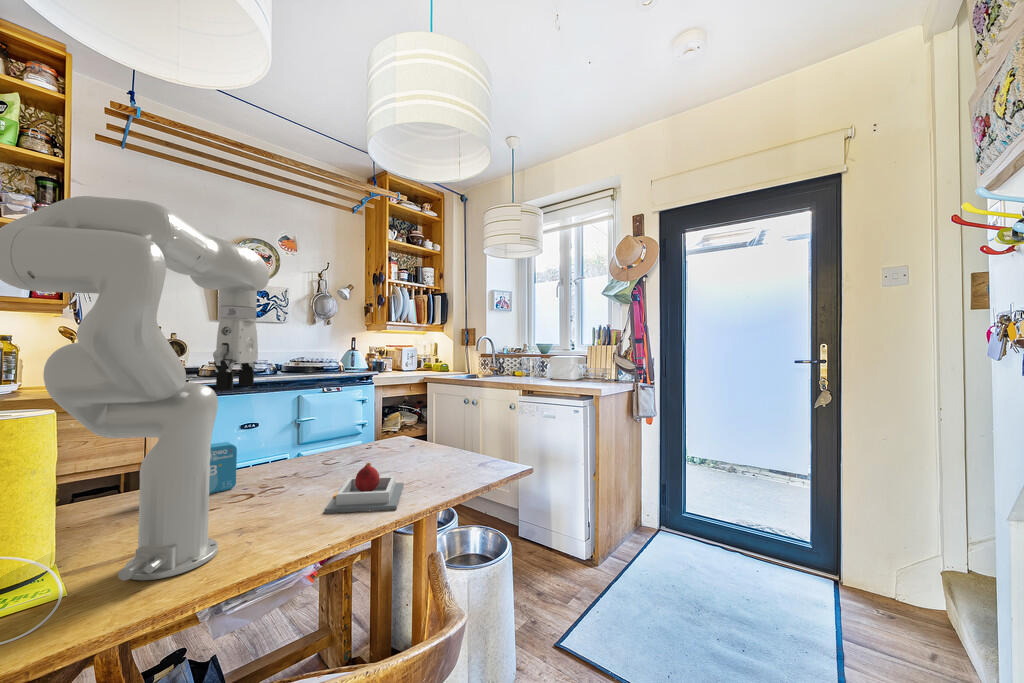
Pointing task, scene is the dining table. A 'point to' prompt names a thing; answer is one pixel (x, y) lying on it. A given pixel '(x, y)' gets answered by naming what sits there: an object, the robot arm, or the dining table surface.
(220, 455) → the data package
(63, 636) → the dining table surface
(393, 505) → the tray
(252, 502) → the dining table surface
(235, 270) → the robot arm
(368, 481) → the onion
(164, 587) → the dining table surface
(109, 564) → the dining table surface
